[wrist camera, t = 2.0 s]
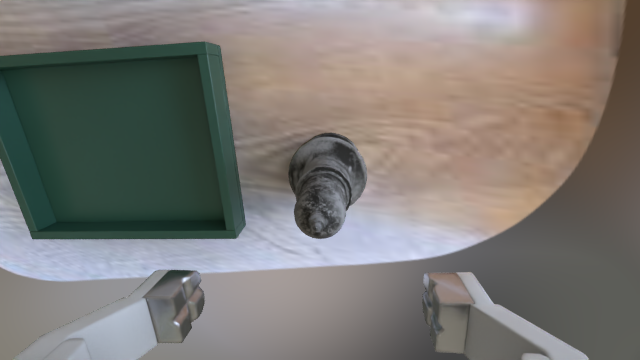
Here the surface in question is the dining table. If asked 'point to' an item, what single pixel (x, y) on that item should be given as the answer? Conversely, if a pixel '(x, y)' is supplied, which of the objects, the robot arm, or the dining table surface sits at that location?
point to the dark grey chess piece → (326, 183)
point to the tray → (121, 143)
